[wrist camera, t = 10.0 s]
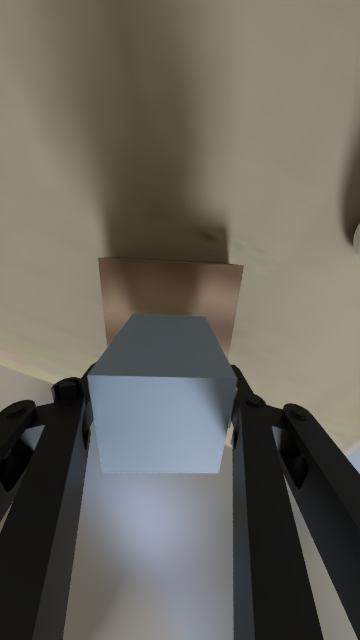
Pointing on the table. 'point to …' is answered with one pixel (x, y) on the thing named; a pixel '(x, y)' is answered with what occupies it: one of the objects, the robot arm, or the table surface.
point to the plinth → (170, 292)
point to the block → (162, 397)
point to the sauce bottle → (357, 241)
